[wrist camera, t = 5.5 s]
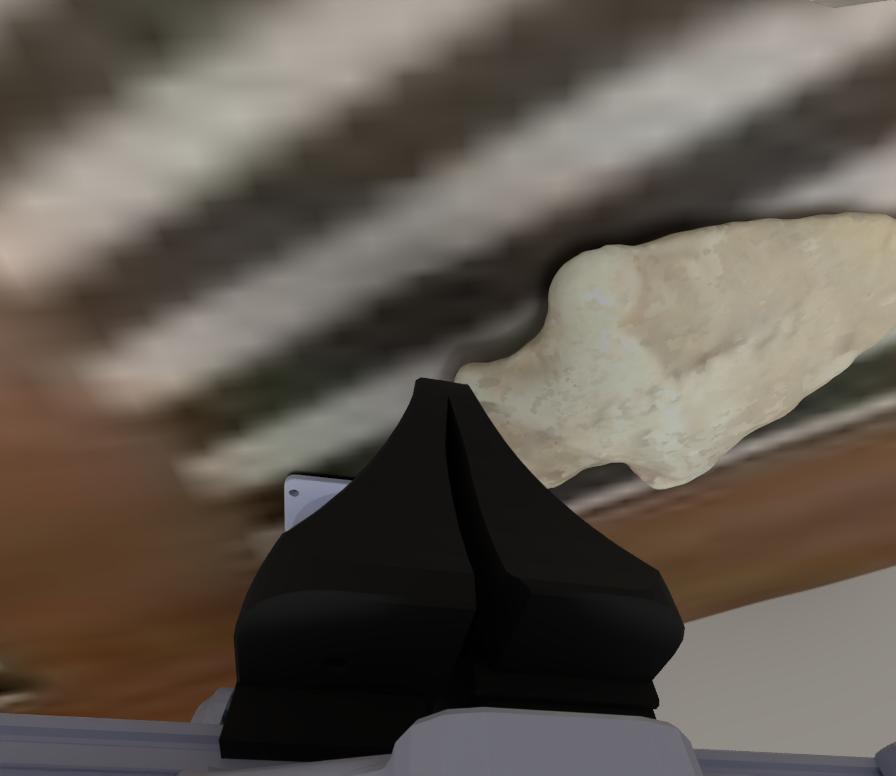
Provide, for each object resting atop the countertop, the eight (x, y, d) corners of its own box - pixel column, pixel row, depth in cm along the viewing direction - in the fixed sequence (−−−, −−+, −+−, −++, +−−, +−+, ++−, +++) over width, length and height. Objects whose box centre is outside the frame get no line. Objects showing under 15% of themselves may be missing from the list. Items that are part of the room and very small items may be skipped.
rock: (392, 332, 21) (886, 66, 17) (517, 510, 28) (896, 358, 23) (386, 377, 18) (994, 67, 13) (529, 566, 25) (970, 403, 20)
